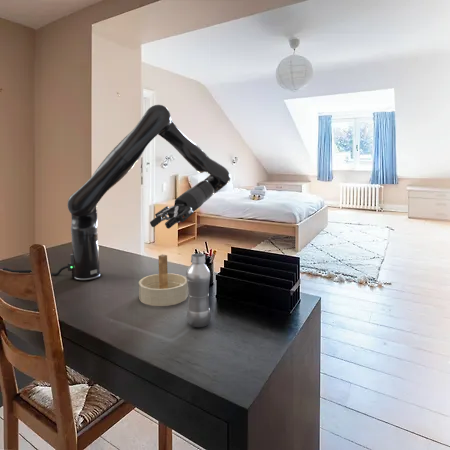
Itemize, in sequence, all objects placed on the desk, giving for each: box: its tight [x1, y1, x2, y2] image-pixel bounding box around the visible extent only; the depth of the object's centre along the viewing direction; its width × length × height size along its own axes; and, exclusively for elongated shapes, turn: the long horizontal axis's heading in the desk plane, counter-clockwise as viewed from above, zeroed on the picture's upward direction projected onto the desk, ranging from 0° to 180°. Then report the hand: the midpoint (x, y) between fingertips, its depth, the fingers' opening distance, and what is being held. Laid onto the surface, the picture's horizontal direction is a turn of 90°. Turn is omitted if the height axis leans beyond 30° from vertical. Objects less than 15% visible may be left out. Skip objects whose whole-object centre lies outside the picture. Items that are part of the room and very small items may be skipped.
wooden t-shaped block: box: [158, 253, 169, 289], centre depth 115 cm, size 5×2×14 cm, turn 59°
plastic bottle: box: [185, 253, 212, 328], centre depth 96 cm, size 6×7×20 cm
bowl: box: [138, 272, 189, 307], centre depth 116 cm, size 16×16×6 cm
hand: (158, 225), depth 118 cm, fingers open, 8 cm apart
